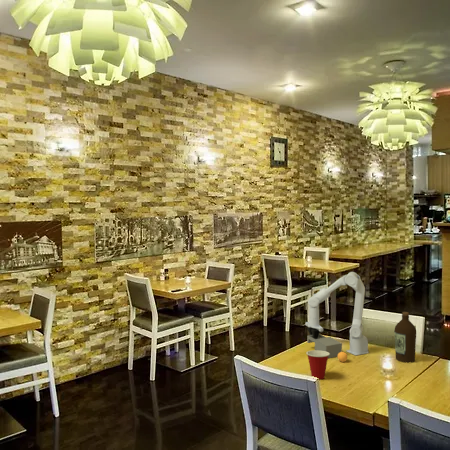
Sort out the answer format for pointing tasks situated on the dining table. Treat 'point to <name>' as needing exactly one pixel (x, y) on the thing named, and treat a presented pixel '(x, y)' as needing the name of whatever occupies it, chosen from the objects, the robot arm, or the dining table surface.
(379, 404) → the dining table surface
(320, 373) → the plastic cup
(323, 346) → the grey open rectangular frame
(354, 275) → the robot arm
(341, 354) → the ball
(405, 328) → the olive oil
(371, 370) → the dining table surface
